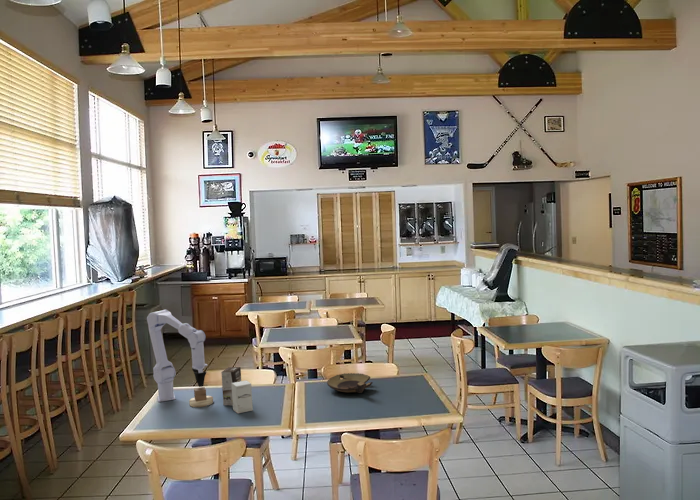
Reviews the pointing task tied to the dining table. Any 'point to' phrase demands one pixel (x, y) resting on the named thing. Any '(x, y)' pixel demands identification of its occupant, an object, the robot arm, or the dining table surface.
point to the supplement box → (242, 396)
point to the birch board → (201, 402)
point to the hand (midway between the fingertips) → (200, 384)
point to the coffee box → (229, 383)
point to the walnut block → (200, 394)
